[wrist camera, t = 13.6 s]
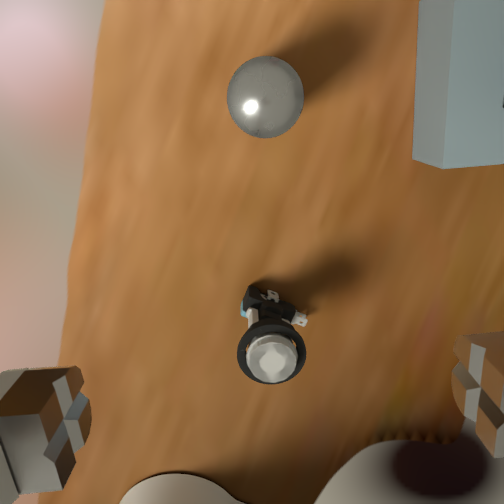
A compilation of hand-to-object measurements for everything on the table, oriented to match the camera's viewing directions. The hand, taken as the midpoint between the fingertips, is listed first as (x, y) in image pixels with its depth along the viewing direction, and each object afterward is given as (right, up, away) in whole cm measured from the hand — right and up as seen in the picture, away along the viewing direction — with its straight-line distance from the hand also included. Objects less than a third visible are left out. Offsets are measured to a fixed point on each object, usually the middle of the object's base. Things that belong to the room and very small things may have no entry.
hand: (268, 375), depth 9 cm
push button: (+2, -2, +32) cm, 32 cm away
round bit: (0, +15, +25) cm, 30 cm away
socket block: (+19, +17, +25) cm, 36 cm away
